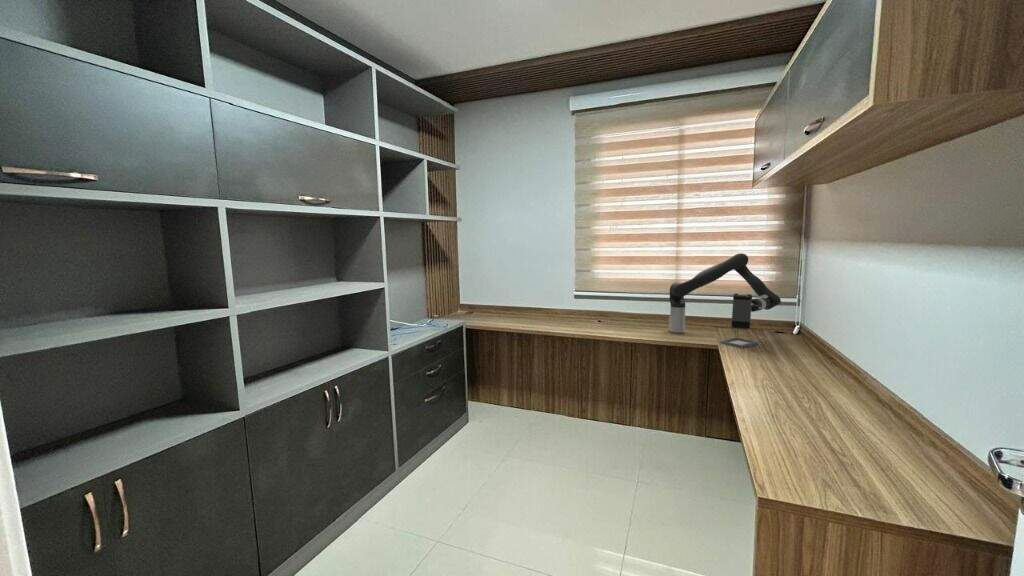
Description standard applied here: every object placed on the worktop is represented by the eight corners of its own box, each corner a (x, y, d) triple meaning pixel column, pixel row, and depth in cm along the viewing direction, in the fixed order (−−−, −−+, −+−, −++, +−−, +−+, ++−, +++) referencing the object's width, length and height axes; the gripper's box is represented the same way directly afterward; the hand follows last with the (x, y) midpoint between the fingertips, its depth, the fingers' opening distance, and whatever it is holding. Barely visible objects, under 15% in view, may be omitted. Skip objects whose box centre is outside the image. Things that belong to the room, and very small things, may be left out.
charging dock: (720, 343, 236) (720, 340, 235) (735, 339, 243) (736, 337, 243) (741, 348, 224) (741, 345, 224) (757, 343, 232) (757, 341, 232)
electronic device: (749, 326, 233) (752, 294, 228) (749, 330, 228) (752, 297, 223) (731, 325, 237) (733, 293, 232) (731, 328, 232) (733, 295, 227)
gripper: (744, 297, 245) (728, 300, 237) (768, 300, 233) (752, 303, 224) (743, 309, 246) (727, 312, 238) (768, 312, 234) (752, 316, 225)
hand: (740, 307), depth 231 cm, fingers closed on electronic device, 5 cm apart
